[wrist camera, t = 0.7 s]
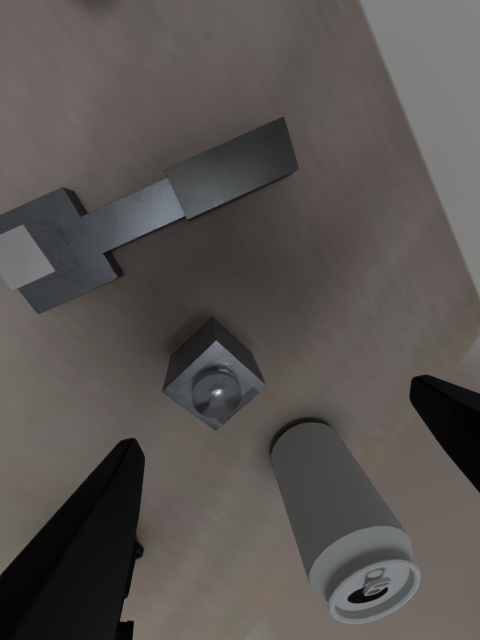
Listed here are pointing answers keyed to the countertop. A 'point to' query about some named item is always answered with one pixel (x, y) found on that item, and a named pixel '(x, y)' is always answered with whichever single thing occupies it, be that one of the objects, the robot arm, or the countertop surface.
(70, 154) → the countertop surface
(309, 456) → the can
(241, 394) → the dark grey block
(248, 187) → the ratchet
